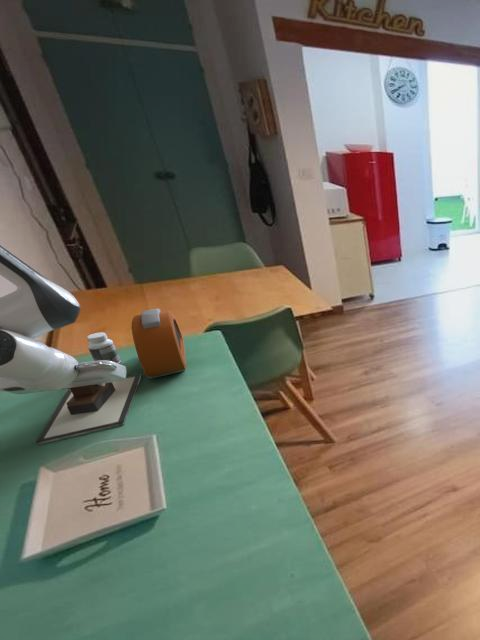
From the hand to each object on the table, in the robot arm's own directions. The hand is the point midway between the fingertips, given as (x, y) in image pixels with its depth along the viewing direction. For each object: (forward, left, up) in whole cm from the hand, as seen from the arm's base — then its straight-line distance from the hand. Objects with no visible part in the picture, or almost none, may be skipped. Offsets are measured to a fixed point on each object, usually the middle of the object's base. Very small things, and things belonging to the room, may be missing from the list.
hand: (88, 385), depth 105 cm
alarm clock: (+13, +16, -5) cm, 22 cm away
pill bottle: (-1, +23, -5) cm, 24 cm away
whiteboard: (0, -2, -5) cm, 6 cm away
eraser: (0, -1, -4) cm, 5 cm away
